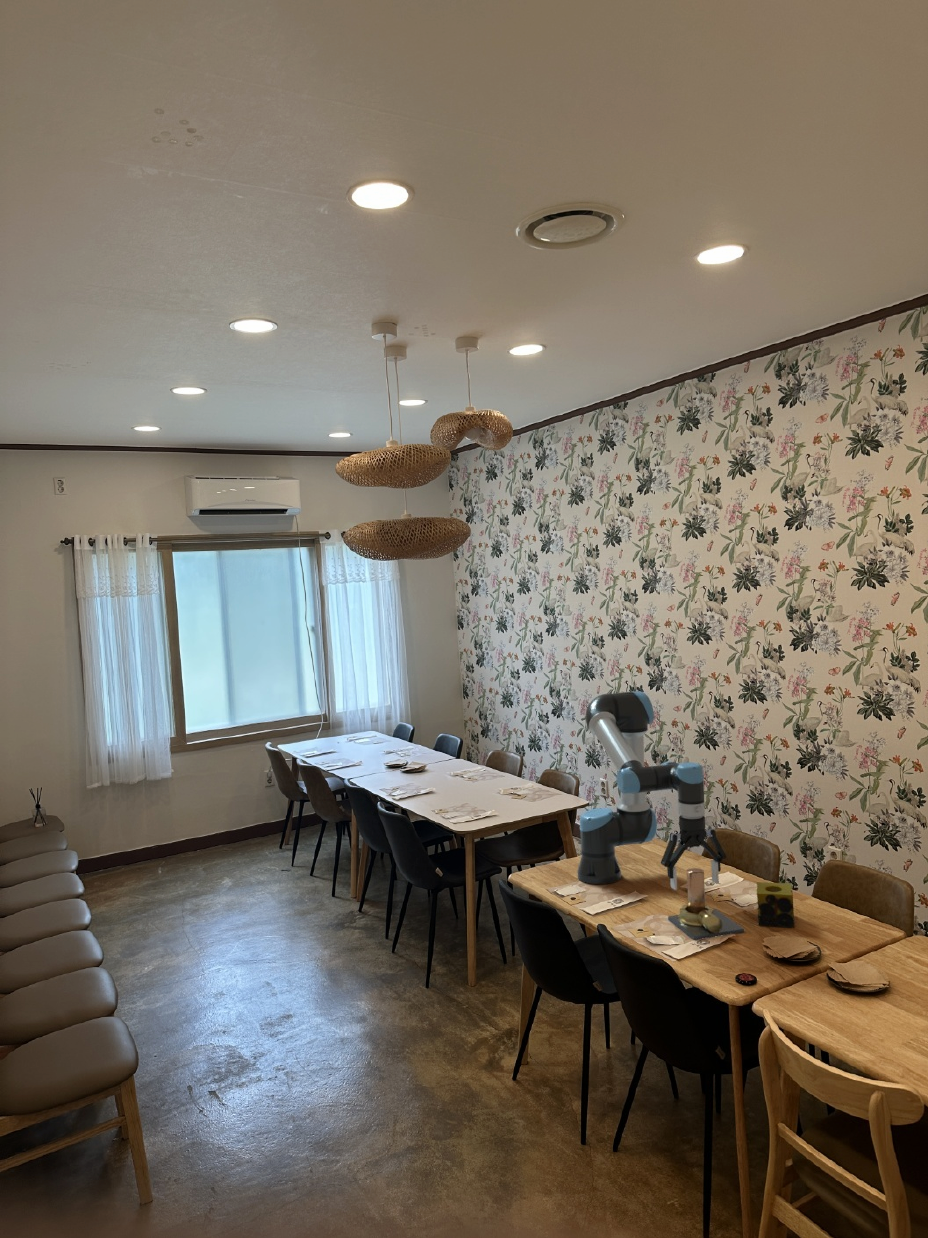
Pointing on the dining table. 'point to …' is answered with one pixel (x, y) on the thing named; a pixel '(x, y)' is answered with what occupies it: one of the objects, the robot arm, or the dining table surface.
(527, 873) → the dining table surface
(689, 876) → the pipe stub
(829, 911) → the dining table surface
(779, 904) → the olive cube piece
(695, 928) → the fitting base
